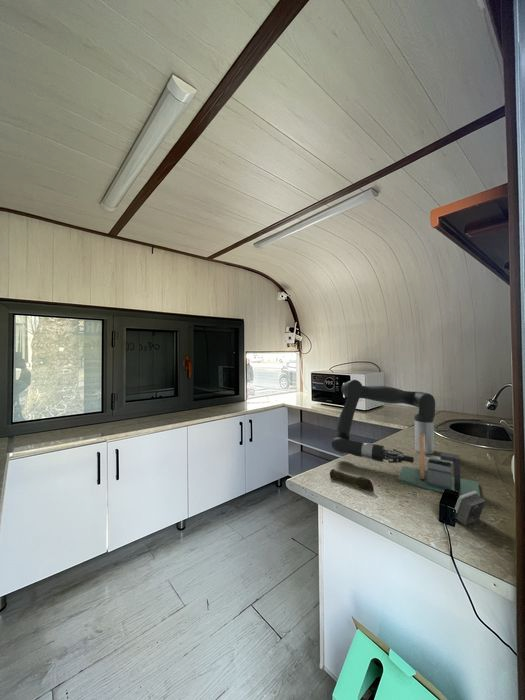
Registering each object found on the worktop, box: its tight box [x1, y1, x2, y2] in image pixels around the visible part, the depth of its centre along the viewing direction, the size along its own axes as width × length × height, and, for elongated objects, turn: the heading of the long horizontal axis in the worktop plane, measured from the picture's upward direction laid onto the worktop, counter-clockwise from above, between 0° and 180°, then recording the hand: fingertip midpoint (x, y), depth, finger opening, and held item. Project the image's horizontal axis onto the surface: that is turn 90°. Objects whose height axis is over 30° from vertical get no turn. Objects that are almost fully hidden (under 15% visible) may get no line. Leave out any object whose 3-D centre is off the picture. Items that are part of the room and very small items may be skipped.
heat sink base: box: [397, 451, 481, 497], centre depth 114 cm, size 16×28×13 cm, turn 54°
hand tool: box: [329, 468, 374, 492], centre depth 114 cm, size 19×4×5 cm, turn 43°
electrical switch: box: [454, 491, 486, 526], centre depth 88 cm, size 9×5×9 cm, turn 113°
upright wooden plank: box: [419, 433, 454, 479], centre depth 114 cm, size 6×12×18 cm, turn 54°
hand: (413, 459), depth 119 cm, fingers closed
